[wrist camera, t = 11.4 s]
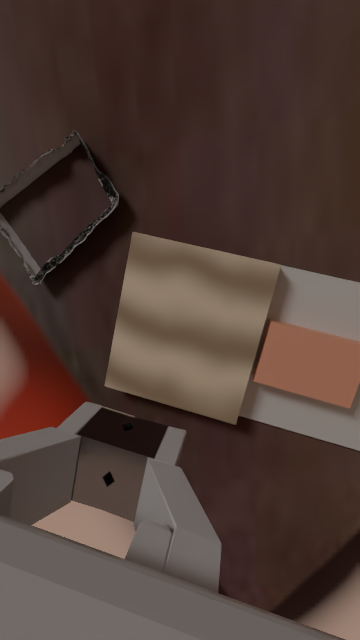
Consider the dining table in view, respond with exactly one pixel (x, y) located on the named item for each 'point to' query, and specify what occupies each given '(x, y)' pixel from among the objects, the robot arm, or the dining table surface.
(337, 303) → the mat
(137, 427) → the robot arm
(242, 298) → the beige square slab
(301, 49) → the dining table surface
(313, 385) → the pink flat block
